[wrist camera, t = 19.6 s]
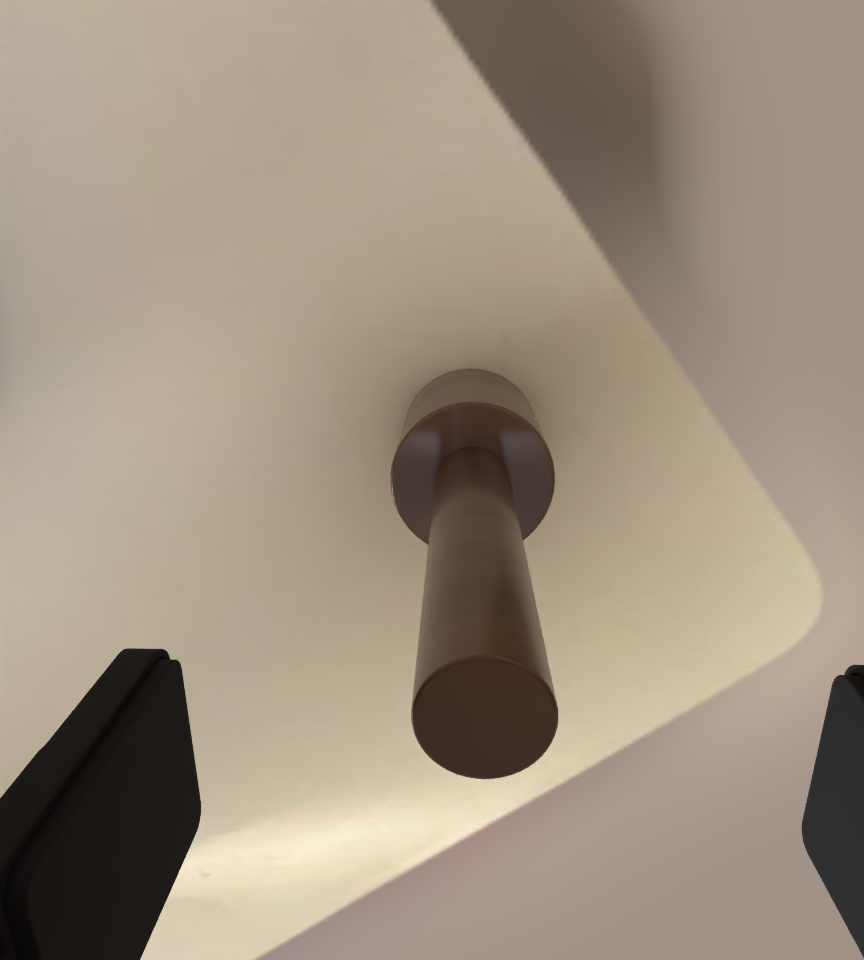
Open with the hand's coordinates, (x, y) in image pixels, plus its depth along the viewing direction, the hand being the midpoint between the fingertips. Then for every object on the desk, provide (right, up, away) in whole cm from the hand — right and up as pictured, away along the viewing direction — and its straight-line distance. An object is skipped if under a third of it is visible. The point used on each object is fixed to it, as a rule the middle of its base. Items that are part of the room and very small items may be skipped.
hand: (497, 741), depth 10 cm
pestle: (0, +5, +14) cm, 15 cm away
